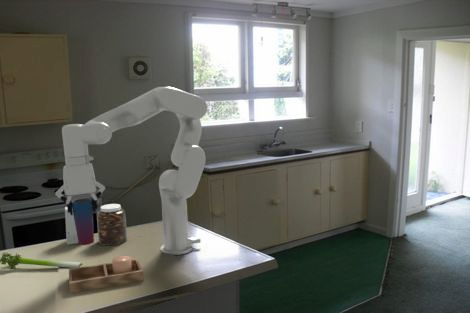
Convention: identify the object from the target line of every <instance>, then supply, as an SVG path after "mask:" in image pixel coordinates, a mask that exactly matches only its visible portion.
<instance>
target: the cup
mask: <svg viewBox="0 0 470 313" xmlns="http://www.w3.org/2000/svg"><path fill="white" fill-rule="evenodd" d="M92 200H93V197H82V198H76V199H72V200H71V204H72V209H73V215H74V221H75V226H76V232H77V237H78V243H77V244H78V245H80V246H88V245H91V244H94V242H95V239H94V238H95V236H94V235H95V234H94V232H95V231H94V229H95V228H94V212H93V204H92Z"/></svg>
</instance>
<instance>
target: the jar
mask: <svg viewBox="0 0 470 313" xmlns="http://www.w3.org/2000/svg"><path fill="white" fill-rule="evenodd" d="M96 220H97V222H96V223H97V236H98V238H97V239H98V244H99V245H101V246H108V247H109V246H117V245H121V244H124V243H125V242H126V241H127V240H128V234H127V220H126V211H125V209H123V208H122V206H121V204H118V203H109V204H104V205H101V206H100V210H99V211H97V214H96Z"/></svg>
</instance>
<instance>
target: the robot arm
mask: <svg viewBox="0 0 470 313" xmlns="http://www.w3.org/2000/svg"><path fill="white" fill-rule="evenodd" d="M163 111H168V112H171V113H174V114H175V115H176V117H177V118H178V121H179V131H178V135H177V137H176V139H175V143H174V146H173V148H172V150H171V154H170V160H171V163H172V165H175V167H178V170H177V169H167V170H164V171H163V173H161V174H160V176H159V179H158V189H159V194H160V199H161V211H162V212H161V214H162V215H161V216H162V230H163V231H162V232H163V244H162V245H160V247H159V251H160V252H162V253H164V254H169V255H173V256H180V255H185V254H189V253H190V252H191V251H193V245H194V244H200V243H201V242H202V241H201V238H200V237H194V236H193V237H189V227H188V223H189V221H188V201H187V199H188V198H191V197H192V196H193V195H194V193H196V191H197V189H198V187H199V186H198V185H199V182H200V180H201V177H202V174H203V171H204V168H205V166H206V160H207V159H206V154H205V151H204V149H203V148H202V147H201V146H199V144H200V140H201V137H202V132H203V129H202V123H201V119H202V118H203V117H205V115H206V114H207V111H208V104H207V102H206V100H205V99H204V98H203V97H202V96H199V95H196V94H193V93H189V92H187V91H184V90H183V89H182V90H181V89H178V88H175V87H172V86H157V87H155V88H152V89H151V90H149V91H147V92H145V93H143V94H141V95H140V96H137V97H136V98H133V99H132V100H129V101H128V102H125V103H124V104H121V105H119V106H117V107H115V108H112V109H110V110H108V111H106V112H104V113H102V114H99V115H98V116H96V117H93V118H92V119H90V120H88V121H87V122H86V123H84V124H81V123H71V124H66V125H63V126H62V128H61V135H62V143H63V144H62V145H63V151H64V152H63V154H64V160H65V162H64V163H65V165H64V166H63V169H62V171H63V172H62V173H63V174H62V176H63V178H62V180H63V184H62V185H61V186H60V188H58V189H57V190H56V192H55V194H54V195H55V196H56V197H57V198H58V199H60V200H61V201H62V202H64V203H65V204H66V207H67V208H68V213H70V215H73V212H72V204H71V201H72V198H73V197H74V196H83V195H90V196H91V198H92V204H93V213H96V210H97V209H98V199H99V197H100V196H101V195H102V194H103V192H104V191H105V190H106V186H105V185H104V184H102V183H100V182H98V181H97V180H96V175H95V170H94V167H93V162H92V163H90V162H91V161H94V156H93V155H92V156H91V155H89V145H104V144H106V143H108V142H109V141H110V140H111V139H112V136H113V133H114V132H115V131H118V130H121V129H124V128H128V127H129V128H130V127H134V126H137V125H139V124H142V123H143V122H145V121H147V120H149V119H150V118H152V117H154V116H156V115H158V114H160V113H162V112H163ZM97 188H99V189H98V191H97ZM96 191H97V192H96ZM63 192H64V194H65V195H66V196H65V195H63V194H62V193H63ZM95 192H96V193H95Z"/></svg>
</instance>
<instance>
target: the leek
mask: <svg viewBox="0 0 470 313" xmlns="http://www.w3.org/2000/svg"><path fill="white" fill-rule="evenodd" d="M0 264H1V265H7V266H9V269H10V270H14V269H16V266H18V265H19V264H20V265H32V266H33V265H34V266H47V267H56V268H69V269H72V268H79V267H81V265H83V263H82V262H75V261H73V262H72V261H60V260H59V261H57V260H45V259H43V260H42V259H34V258H27V257H22V255H21V254H18V253H16V254H15V255H12V253H8V252H2V253H1V257H0Z"/></svg>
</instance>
